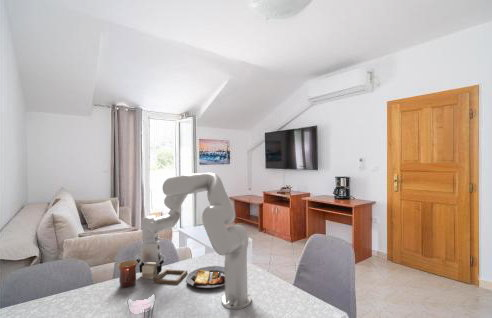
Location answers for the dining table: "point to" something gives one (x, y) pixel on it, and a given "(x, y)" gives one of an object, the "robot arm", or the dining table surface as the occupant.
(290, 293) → the dining table surface
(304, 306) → the dining table surface
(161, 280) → the walnut frame
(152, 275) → the birch block
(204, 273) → the food plate
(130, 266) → the mug
